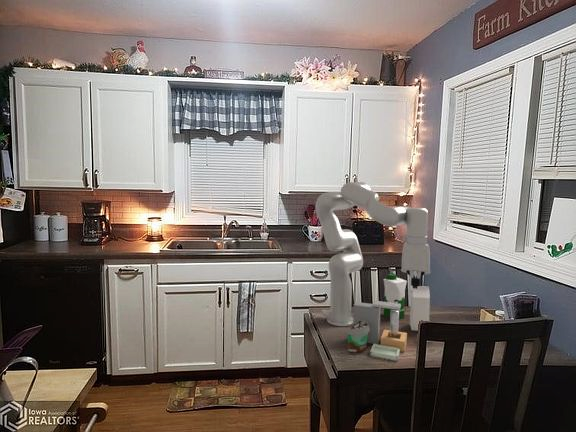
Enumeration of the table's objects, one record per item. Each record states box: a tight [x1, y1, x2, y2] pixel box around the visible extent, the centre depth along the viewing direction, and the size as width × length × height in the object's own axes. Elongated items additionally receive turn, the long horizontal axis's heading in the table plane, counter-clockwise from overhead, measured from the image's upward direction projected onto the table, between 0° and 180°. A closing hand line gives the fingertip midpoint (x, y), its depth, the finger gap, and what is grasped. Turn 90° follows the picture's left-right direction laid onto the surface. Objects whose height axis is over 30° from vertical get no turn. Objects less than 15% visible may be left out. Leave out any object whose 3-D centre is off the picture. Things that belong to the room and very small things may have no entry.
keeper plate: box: [373, 300, 401, 310], centre depth 152 cm, size 10×4×1 cm, turn 67°
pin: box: [389, 310, 400, 339], centre depth 152 cm, size 3×3×14 cm
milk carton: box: [409, 285, 431, 332], centre depth 169 cm, size 7×7×19 cm
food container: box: [346, 319, 370, 354], centre depth 148 cm, size 12×6×10 cm, turn 148°
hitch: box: [352, 301, 408, 353], centre depth 154 cm, size 20×9×15 cm, turn 67°
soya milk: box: [382, 273, 408, 320], centre depth 183 cm, size 9×9×20 cm
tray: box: [369, 344, 401, 362], centre depth 145 cm, size 10×7×2 cm
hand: (415, 287), depth 148 cm, fingers closed
